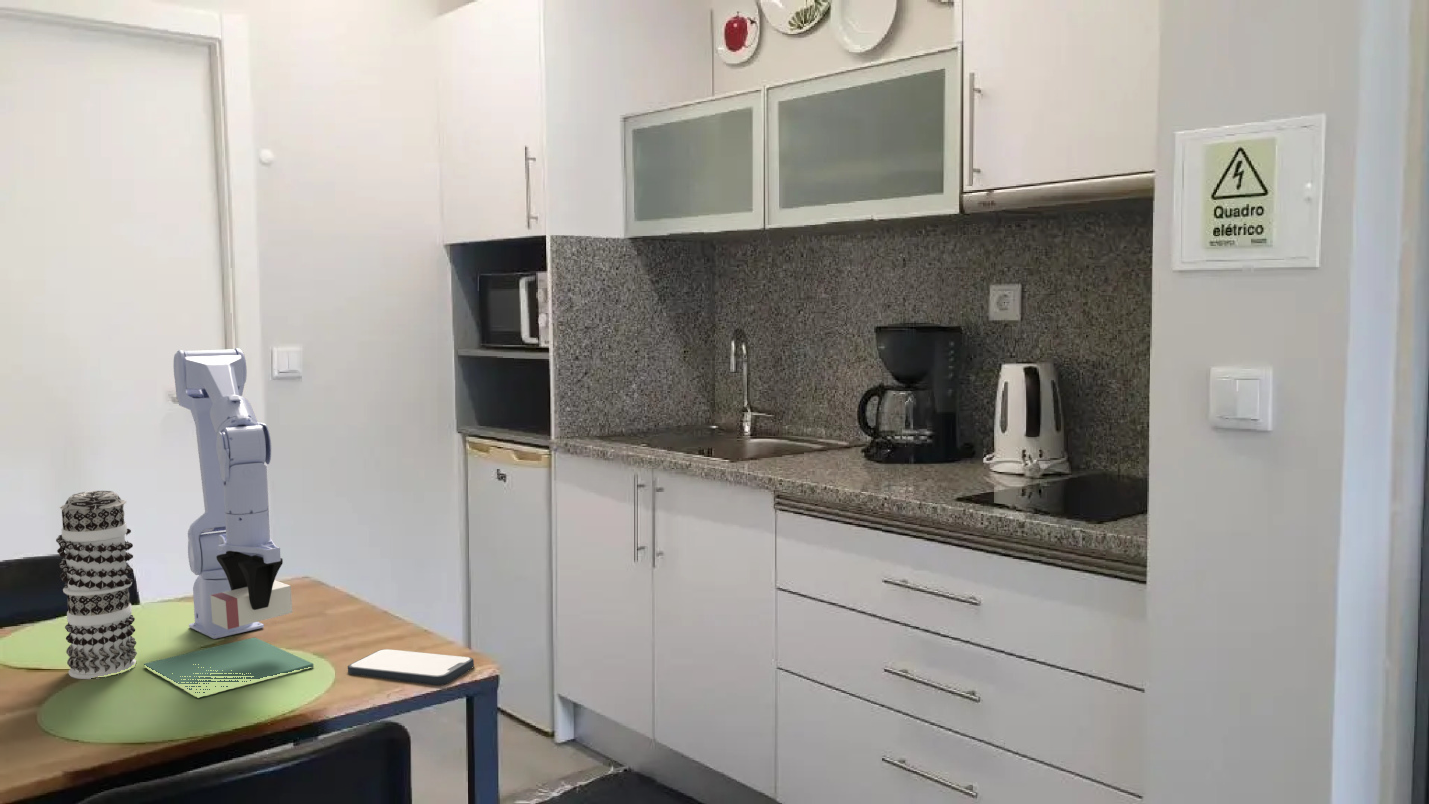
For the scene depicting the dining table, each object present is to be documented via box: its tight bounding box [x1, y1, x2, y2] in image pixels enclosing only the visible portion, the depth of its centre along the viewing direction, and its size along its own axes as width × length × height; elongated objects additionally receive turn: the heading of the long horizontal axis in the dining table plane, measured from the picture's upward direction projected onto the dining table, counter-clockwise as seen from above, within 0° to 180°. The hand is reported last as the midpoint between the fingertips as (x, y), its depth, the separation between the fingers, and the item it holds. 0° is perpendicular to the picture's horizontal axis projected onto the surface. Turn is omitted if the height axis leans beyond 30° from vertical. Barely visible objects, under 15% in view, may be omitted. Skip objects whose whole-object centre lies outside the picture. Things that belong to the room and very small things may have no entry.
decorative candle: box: [55, 490, 138, 680], centre depth 155 cm, size 9×9×25 cm
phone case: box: [347, 648, 475, 686], centre depth 156 cm, size 9×2×16 cm
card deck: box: [210, 579, 293, 629], centre depth 158 cm, size 10×5×4 cm, turn 138°
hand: (251, 604), depth 158 cm, fingers closed on card deck, 5 cm apart
